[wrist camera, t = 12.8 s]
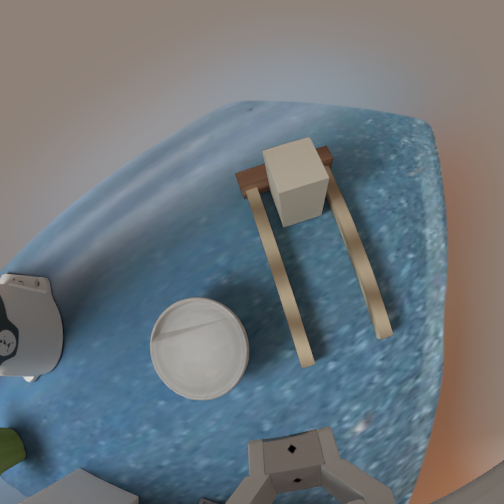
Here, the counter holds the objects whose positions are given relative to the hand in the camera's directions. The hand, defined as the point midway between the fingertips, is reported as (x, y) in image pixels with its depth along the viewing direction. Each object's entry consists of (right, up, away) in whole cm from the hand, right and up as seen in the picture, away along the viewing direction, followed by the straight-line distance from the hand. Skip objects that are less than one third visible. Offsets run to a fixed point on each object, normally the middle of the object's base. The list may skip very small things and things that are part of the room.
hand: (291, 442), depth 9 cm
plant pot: (-48, -31, +25) cm, 63 cm away
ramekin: (-7, -4, +26) cm, 27 cm away
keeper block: (+4, +13, +28) cm, 31 cm away
